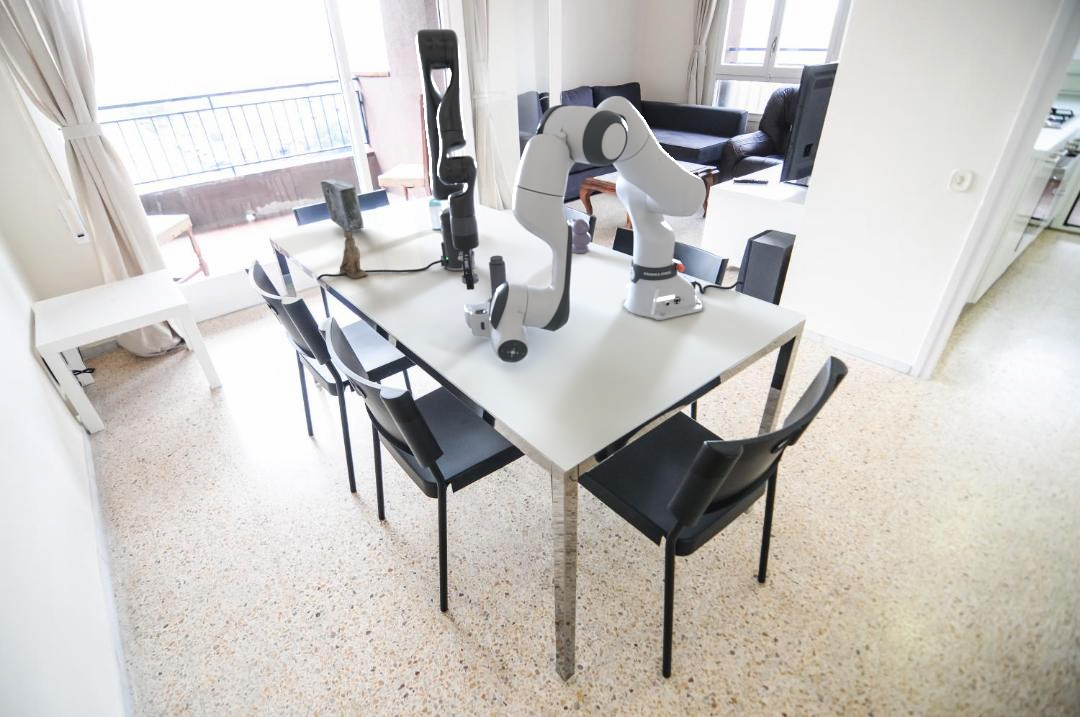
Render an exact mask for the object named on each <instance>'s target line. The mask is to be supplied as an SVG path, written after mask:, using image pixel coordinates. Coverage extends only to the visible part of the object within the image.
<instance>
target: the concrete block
mask: <svg viewBox="0 0 1080 717" xmlns="http://www.w3.org/2000/svg"><path fill="white" fill-rule="evenodd" d="M320 186H321V189H322V193H323V197H324V202H325V204H326V208H327V212H328V215H329V217H330V220H332V222H334V223H335V224H336V225H338V226H339V227H341V228H342V229H343V230H345V232H346V231H348V230H350V231H352V232H355V231H358V230H361V229H364V228H365V226H364V220H363V216H362V212H361V207H360V206H361V205H360V201H359V197H358V192H357V188H356V186H355V185H354V184H353V183H351V182H348V181H347V180H344V179H339V178H330V179H324V180H322V181H320Z"/></svg>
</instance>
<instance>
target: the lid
mask: <svg viewBox="0 0 1080 717" xmlns="http://www.w3.org/2000/svg"><path fill="white" fill-rule="evenodd" d="M469 274H471V273H469ZM473 275H474V277H473V280H474V285H475V284H477V283H478V282H479V280H480V279H479V275H478V274H477V273H475V272H474V273H473ZM461 282H462V284H464V285H466V278H464V274H463V275H462V276H461Z"/></svg>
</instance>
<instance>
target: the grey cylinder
mask: <svg viewBox="0 0 1080 717" xmlns="http://www.w3.org/2000/svg"><path fill="white" fill-rule="evenodd" d="M488 268H489V269H488V270H489V280H490V289H491V290H490V292H491V296H492V295H493V293H494V291H495V290H496V289H497V288H498V287H499V286H500V285H502V284H503V283H505V282H507V273H506V262H505V260H504V257H503V256H502V255H492V256H490V258H489V262H488Z"/></svg>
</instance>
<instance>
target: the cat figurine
mask: <svg viewBox="0 0 1080 717" xmlns="http://www.w3.org/2000/svg"><path fill="white" fill-rule="evenodd" d="M570 221H571V226H572V232H573V247H572V253H575V254H585V253H587V252H588V251H589V246H588V245H590V243H591V241H592V236H591V234H590V233H589V231H590V224H589V222H588V221H587V219H584V218H577V219H575V218H570Z"/></svg>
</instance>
